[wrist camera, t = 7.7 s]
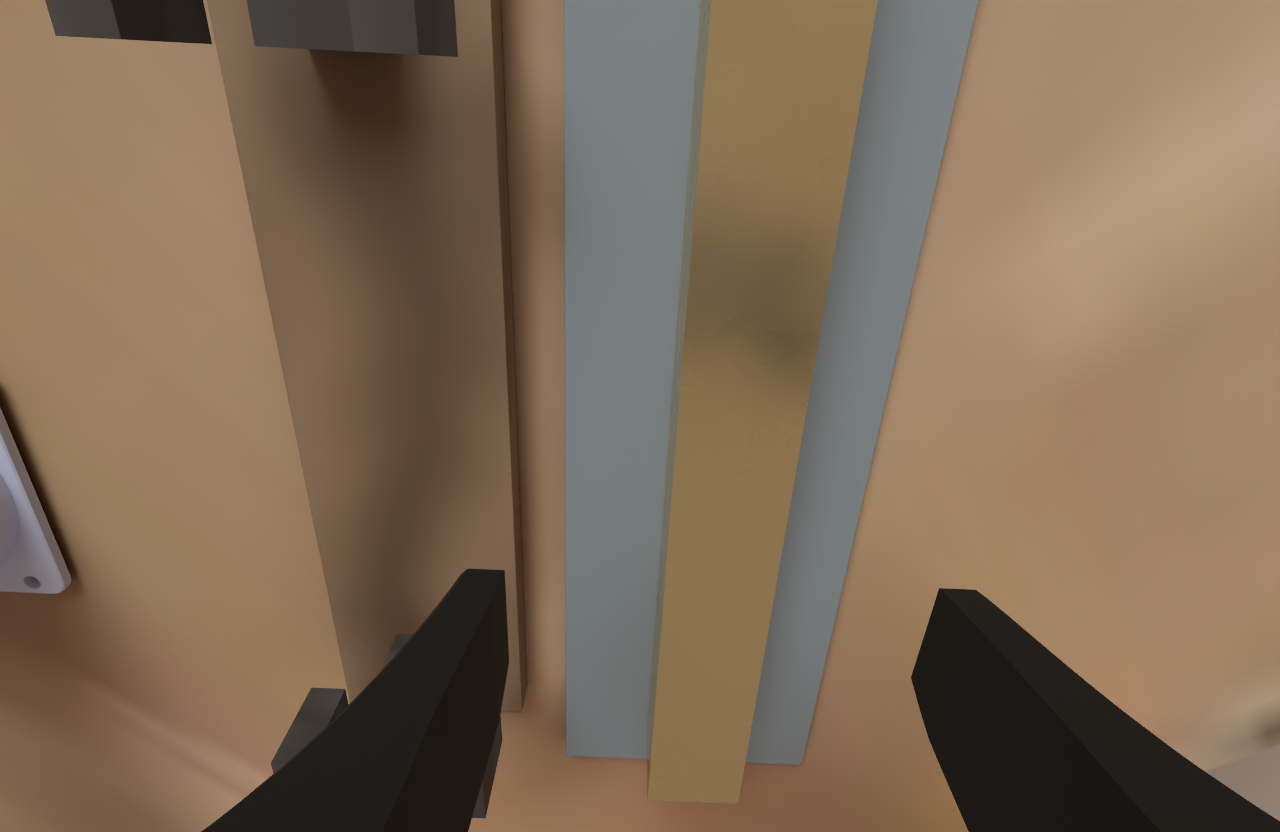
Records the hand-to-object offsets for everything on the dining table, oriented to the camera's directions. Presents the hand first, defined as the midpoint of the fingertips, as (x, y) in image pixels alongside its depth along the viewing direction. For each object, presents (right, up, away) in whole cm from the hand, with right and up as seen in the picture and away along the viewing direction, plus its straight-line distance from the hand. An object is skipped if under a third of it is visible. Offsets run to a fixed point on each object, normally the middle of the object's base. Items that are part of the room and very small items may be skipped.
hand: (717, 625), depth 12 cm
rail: (+1, +4, +8) cm, 9 cm away
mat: (+1, +4, +8) cm, 9 cm away
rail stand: (-8, +4, +8) cm, 12 cm away
